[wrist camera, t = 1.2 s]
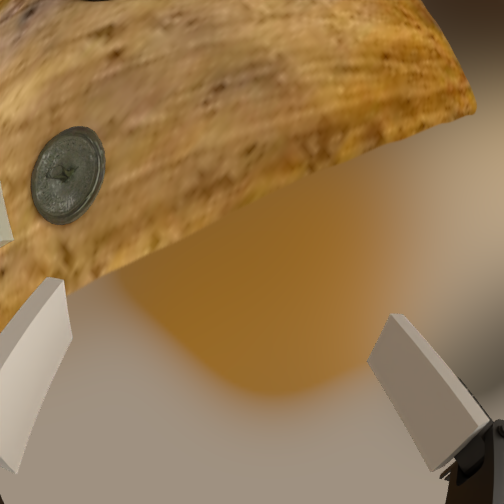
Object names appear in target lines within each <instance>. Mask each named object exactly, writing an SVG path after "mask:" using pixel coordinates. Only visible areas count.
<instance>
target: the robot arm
mask: <svg viewBox="0 0 504 504" xmlns="http://www.w3.org/2000/svg"><path fill="white" fill-rule="evenodd" d="M90 1H103V0H90ZM72 339H73V337H72V332H71V327H70V321H69V315H68V308H67V301H66V294H65V286H64V280H61V279H56V278H51V277H47V278H46V279H45V280H44V281H43V282H42V283H41V284H40V285H39V287H38V288H37V289H36V290H35V291H34V292H33V294H32V295H31V296H30V297H29V298H28V299H27V301H26V302H25V303H24V304H23V305H22V307H21V308H20V309H19V310H18V312H17V313H16V314H15V315H14V317H13V318H12V319H11V320H10V322H9V323H8V324H7V326H6V327H5V328H4V330H3V331H2V332H1V334H0V466H1V467H2V468H4V469H6V470H8V471H11V472H13V473H15V474H17V473H18V469H19V466H20V463H21V460H22V456H23V453H24V451H25V448H26V445H27V442H28V439H29V436H30V433H31V430H32V428H33V425H34V423H35V420H36V418H37V415H38V413H39V410H40V407H41V405H42V403H43V400H44V398H45V396H46V393H47V391H48V388H49V386H50V384H51V382H52V380H53V378H54V375H55V373H56V371H57V369H58V367H59V365H60V363H61V361H62V359H63V356H64V355H65V353H66V350H67V349H68V347H69V345H70V343H71V341H72ZM367 362H368V364H369V366H370V367H371V369H372V371H373V372H374V374H375V375H376V377H377V379H378V381H379V382H380V384H381V386H382V387H383V389H384V391H385V392H386V394H387V396H388V397H389V399H390V401H391V402H392V404H393V406H394V407H395V409H396V411H397V413H398V414H399V416H400V418H401V420H402V421H403V423H404V425H405V427H406V428H407V430H408V432H409V434H410V435H411V437H412V439H413V441H414V443H415V444H416V446H417V448H418V450H419V452H420V453H421V455H422V457H423V459H424V461H425V462H426V464H427V466H428V468H429V470H430V472H433V471H435V470H437V469H439V468H441V467H443V466H445V465H446V464H447V463H448V462H449V461H450V460H451V459H453V458H455V459H456V461H455V462H454V463H453V464H452V465H451V466H449V467H448V468H447V469H446V470H445V471H444V472H443V473H442V474H441V475H440V479H442V478H443V477H444V476H446V475H447V474H448V473H449V472H451V473H450V474H449V475H448V476H447V477H446V478H445V480H447V481H449V486H448V492H447V498H446V503H445V504H504V420H499V419H498V420H496V421H495V422H493V421H492V419H491V418H490V417H489V416H488V414H487V413H486V412H485V410H484V409H483V408H482V406H481V405H480V404H479V402H478V401H477V400H476V398H475V397H474V396H472V393H471V392H470V391H469V390H467V387H466V386H465V384H464V383H463V382H462V381H461V379H459V378H458V377H457V376H456V375H455V374H454V373H453V372H452V371H451V369H450V368H449V367H448V366H447V365H446V363H445V362H444V361H443V360H442V358H441V357H440V356H439V355H438V354H437V353H436V351H435V350H434V349H433V348H432V347H431V346H430V344H429V343H428V342H427V341H426V340H425V339H424V338H423V336H422V335H421V334H420V333H419V332H418V331H417V329H416V328H415V327H414V326H413V325H412V324H411V323H410V321H408V319H407V318H406V317H405V316H404V315H403V314H390V315H389V318H388V320H387V322H386V324H385V326H384V328H383V330H382V332H381V335H380V337H379V338H378V341H377V343H376V345H375V347H374V348H373V350H372V352H371V355H370V356H369V358H368V360H367ZM0 504H4V502H3V500H2V498H1V495H0Z"/></svg>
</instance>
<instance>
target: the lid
mask: <svg viewBox="0 0 504 504" xmlns="http://www.w3.org/2000/svg"><path fill="white" fill-rule="evenodd" d="M104 174H105V151H104V148H103V146H102V143H101V141H100V139H99V138H98V136H97V134H96V133H95V132H94V131H93V130H91V129H89V128H88V127H83V126H77V127H71V128H69V129H66V130H64V131H62V132H60V133H59V134H58V135H56V136H55V137H54V138H52V139H51V140H50V141H49V142H48V143H47V144H46V145H45V147H44V149H43V150H42V151H41V153H40V155H39V157H38V160H37V162H36V164H35V167H34V169H33V172H32V179H31V191H32V198H33V201H34V204H35V206H36V208H37V210H38V212H39V213H40V214H41V215H42V217H43V218H44V219H46V220H47V221H48V222H50V223H52V224H56V225H65V224H68V223H71V222H73V221H75V220H77V219H78V218H79V217H81V216H82V215H83V214H84V213H85V212H86V211H87V210H88V209H89V207H90V206H91V205H92V203H93V202H94V200H95V198H96V196H97V195H98V192H99V190H100V188H101V185H102V183H103V179H104Z"/></svg>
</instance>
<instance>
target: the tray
mask: <svg viewBox="0 0 504 504" xmlns="http://www.w3.org/2000/svg"><path fill="white" fill-rule="evenodd" d="M13 240H14V239H13V235H12V231H11V228H10V224H9V220H8V216H7V212H6V208H5V203H4V198H3V194H2V188H1V183H0V247H2V246H4V245H6V244H7V243H9V242H11V241H13Z"/></svg>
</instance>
